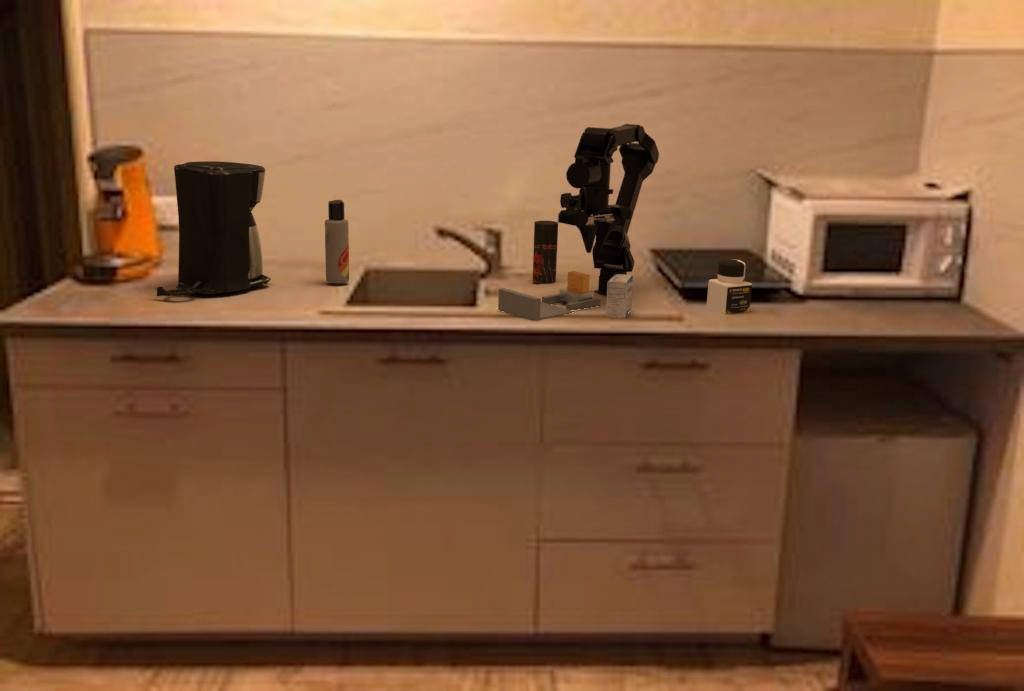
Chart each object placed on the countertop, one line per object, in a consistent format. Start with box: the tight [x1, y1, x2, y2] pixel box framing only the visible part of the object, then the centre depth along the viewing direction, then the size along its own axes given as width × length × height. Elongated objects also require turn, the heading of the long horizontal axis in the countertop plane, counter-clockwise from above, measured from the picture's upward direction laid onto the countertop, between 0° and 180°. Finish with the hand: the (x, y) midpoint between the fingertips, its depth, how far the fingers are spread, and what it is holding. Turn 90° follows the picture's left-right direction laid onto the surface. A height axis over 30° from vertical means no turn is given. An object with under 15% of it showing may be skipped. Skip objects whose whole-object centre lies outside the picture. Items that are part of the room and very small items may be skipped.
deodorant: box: [532, 220, 559, 285], centre depth 257 cm, size 6×6×15 cm
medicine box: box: [605, 274, 634, 319], centre depth 226 cm, size 8×4×9 cm, turn 164°
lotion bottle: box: [324, 199, 350, 284], centre depth 249 cm, size 6×6×20 cm
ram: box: [558, 270, 594, 303], centre depth 234 cm, size 5×6×6 cm
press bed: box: [497, 287, 602, 322], centre depth 230 cm, size 22×12×5 cm, turn 131°
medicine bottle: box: [706, 258, 753, 315], centre depth 232 cm, size 7×7×12 cm
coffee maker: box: [154, 160, 272, 297], centre depth 238 cm, size 20×28×29 cm
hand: (593, 251), depth 235 cm, fingers open, 3 cm apart
